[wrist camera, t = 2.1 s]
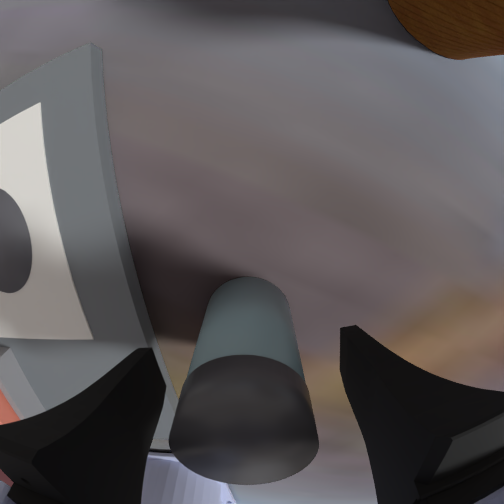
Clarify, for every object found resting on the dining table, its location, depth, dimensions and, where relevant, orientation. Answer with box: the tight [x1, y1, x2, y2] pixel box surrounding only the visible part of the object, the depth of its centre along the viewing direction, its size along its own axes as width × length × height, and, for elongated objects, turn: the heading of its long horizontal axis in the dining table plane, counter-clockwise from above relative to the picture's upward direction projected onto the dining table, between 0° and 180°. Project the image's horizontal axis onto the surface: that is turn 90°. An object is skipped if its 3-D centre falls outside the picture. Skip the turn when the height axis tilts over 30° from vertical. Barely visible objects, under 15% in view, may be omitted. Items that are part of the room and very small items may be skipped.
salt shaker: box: [169, 277, 319, 485], centre depth 11 cm, size 4×4×8 cm
